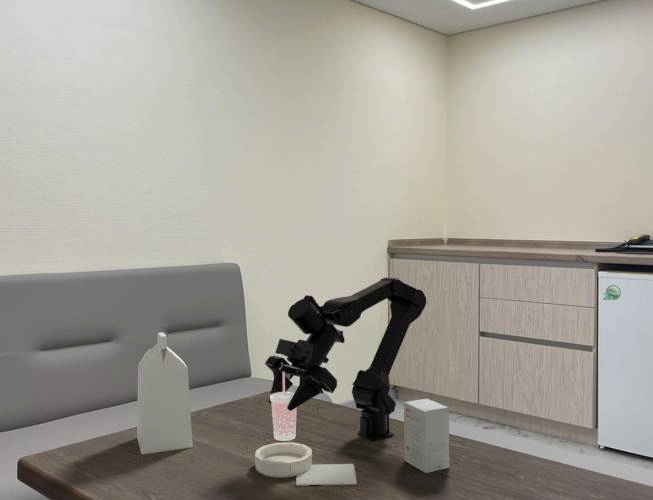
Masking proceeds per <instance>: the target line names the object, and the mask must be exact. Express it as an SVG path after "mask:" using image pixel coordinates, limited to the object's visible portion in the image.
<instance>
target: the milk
mask: <svg viewBox="0 0 653 500" xmlns="http://www.w3.org/2000/svg"><path fill="white" fill-rule="evenodd" d="M156 341H157V342H156V344H155V345H154V346H153V347H152V348H149V349H147V351H146V352H145V353H144V354H143V356H142V358H141V360H139V362H138V364H137V365H138V366H137V415H136V416H137V421H136V422H137V424H136V428H137V429H136V433H137V434H136V436H137V437H136V439H137V442H138V446H139V451H140V454H141V455H146V454H147V455H148V454H154V453H162V452H168V451H169V452H170V451H174V450H175V451H176V450H182V449H183V450H184V449H189V448H190V449H191V448H193V434H192V433H193V430H192V419H191V418H192V415H191V401H190V383H189V382H190V381H189V371H188V366H187V364H186V363H185V361H183V359H182V358H181V357H180V356H178V355H177V353H175V352H174V350H172V349H171V348H170V347H168V337H167V335H166V334H165V332H157V339H156Z"/></svg>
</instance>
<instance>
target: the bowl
mask: <svg viewBox="0 0 653 500" xmlns="http://www.w3.org/2000/svg"><path fill="white" fill-rule="evenodd" d="M312 450H313V449H312V448H311V447H310V446H307V445H306V444H302V443H297V442H291V441H290V442H288V441H286V442H275V443H270V444H265V445H263V446H262V447H259V448H257V449H256V450H255V455H254V466H255V471H256V472H257V471H258V472H257V473H258V474H260V473H261V474H260V475H262V474H263V475H262V476H265V477H269V478H277V479H278V478H279V479H280V478H282V479H283V478H291V477H297V474H300V473H303V472H305V471H307V470H309V469H310V468H311V466H312V465H313V451H312Z"/></svg>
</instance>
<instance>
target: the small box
mask: <svg viewBox="0 0 653 500" xmlns="http://www.w3.org/2000/svg"><path fill="white" fill-rule="evenodd" d="M403 423H404V424H403V427H404V428H403V429H404V431H403V438H404V439H403V440H404V441H403V443H404V445H403V447H404V448H403V449H404V452H403V454H404V462H406V463H407V464H409V465H411V466H413V467H414V468H416V469H418V470H420V471H421V472H422V473H424V474H428V473H433V472H437V471H442V470H445V469H449V468H450V410H449V407H448V406H445V405H444V404H440V403H439V402H437V401H433V400H432V399H429V398H423V399H416V400H415V399H414V400H407V401H404V402H403Z"/></svg>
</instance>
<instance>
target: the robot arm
mask: <svg viewBox="0 0 653 500" xmlns="http://www.w3.org/2000/svg"><path fill="white" fill-rule="evenodd" d="M384 300H387V301H389V302H390V305H389V308H390V315H391V317H390V319H389V322H388V324H387V326H386V329H385V331H384V333H383V336H382V338H381V340H380V343H379V345H378V347H377V350H376V353H375V354H374V356H373V359H372V361H371V364H370V366H369V367H368V368H367V369H365V370H363V369H359V371H358V372H357V374H356V376H355V380H354V381H353V382H352V383H351V384H352V390H351V394H352V398H353V400H354V404H355V407H356V409H360V410H361V411H360V412H361V414H360V417H359V428H360V429H359V430H358V431H357V434H358V435H360V436H362V437H364V438H366V439H368V440H370V441H376V440H377V441H378V440H382V439H385V438H389V437H390V438H391V437H394V433H393V432H390V415H391V414H392V413H394V412H395V411H396V405H397V404H396V401H395V400H394V399H393V398H392V397H391V396H390V394H389V392H390V389H391V385H390V377H389V375H390V373H391V371H392V368H393V365H394V364H395V361H396V359H397V356H398V354H399V352H400V351H399V350H400V349H401V347H402V344H403V342H404V339H405V336H406V335H407V332H408V330H409V327H410V325H411V324H412V323H413V322H415V321H416V320H418V318H420V316H421V315H422V313H423V311H424V310H425V307H426V306H427V297H426V294H425V293H424V292H423V290H421V289H418V288H416V287H414V286H411V285H410V284H407V283H404V282H403V281H402V280H400V279H399V278H396V277H382V278H380V280H379V281H376V282H374V283H373V284H371V285H369V286H367V287H365V288H363V289H360V290H358V292H357V291H356V292H355V293H353V294H351V295H348V296H341V297H335V298H332V299H328V300H327V301H325V302H324V303H323V305H319V303H318V302H317V301H316V299H315V297H313V296H312V295H304V297H303V298H301V299H299V300H297V301H296V302H295V303H294V304H292V305H291V306H290V307H289V309H288V311H287V316H288V318H289V319H290V320H291V321H292V322H293V323H294V325H295V326H297V328H299V330H300V331H301V333H303V334H304V335H309V336H308V338H306V340H303V339H298V340H297V341H296V342H295V341H291V340H288V339H283V338H279V339H278V343H277V345H276V350H275V352H274V353H275V354H277V355H282V356H284V357H286V359H285V358H284V357H282V356H277V355H270V356H269V357H268V358H267V360H266V361H265V362H264V365H265V366H266V367H267V368H268V369H269V370H270V371H271V372H272V375H273V380H272V386H271V391H270V394H269V397H268V403H269V404H270V405H271V401H270V395H271V394H273V393H277V392H283V372H285V392H288V390H289V389H290V388H291V387H292V386H293V385H294V383H293V382H292V381H291V380H292V379H293V377H294V376H295V377H298V378H299V385H298V386H297V388H296V390H295V392H294V395H293V397H292V399H291V400H290V402H289V405H288V407H287V409H288V410H289V411H292V410H293V409H295V408H296V407H297V408H298V407H299V406H301V405H303V404H305V403H307V401H309V400H311V399H314V398H315V397H316V396H318V395H320V394H321V395H323V394H324V392H325V393H330V394H334V392H335V390H336V389H337V387H338V379H337V378H336V377H335V376H334V375H333V374H332V373H331V372H330V371H329V369H327V368H326V367H323V366H322V364H323V363H324V364H328V362H329V357H328V355H329V354H330V351H331V350H332V348H333V347H334V345H335V344H336V343H341V344H345V336H344V331H343V330H339V329H338V328H336V327H335V326H340V327H345V328H348V327H351V326H353V325H354V323H356V322H357V321H358V320H360V318H361V317H362V316H361V315H362V314H363V312H365V311H366V310H369V309H371V308H372V307H374V306H375V305H377V304H379V303H381V302H383V301H384ZM290 363H291V364H290Z"/></svg>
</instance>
